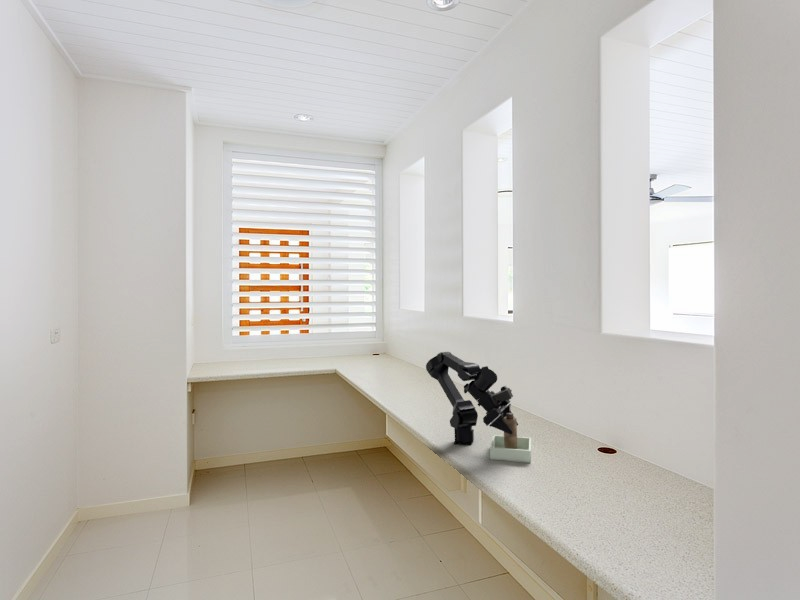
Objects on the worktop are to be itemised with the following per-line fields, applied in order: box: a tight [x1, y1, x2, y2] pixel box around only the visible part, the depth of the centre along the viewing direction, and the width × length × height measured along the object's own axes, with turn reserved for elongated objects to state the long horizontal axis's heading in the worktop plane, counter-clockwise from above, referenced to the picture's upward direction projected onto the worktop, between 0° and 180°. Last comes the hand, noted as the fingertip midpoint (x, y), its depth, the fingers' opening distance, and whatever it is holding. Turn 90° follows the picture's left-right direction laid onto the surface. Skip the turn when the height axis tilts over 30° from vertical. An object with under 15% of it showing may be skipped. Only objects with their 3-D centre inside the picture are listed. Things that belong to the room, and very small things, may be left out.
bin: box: [489, 434, 532, 464], centre depth 158 cm, size 13×13×4 cm
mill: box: [503, 412, 518, 449], centre depth 158 cm, size 4×4×14 cm
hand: (514, 429), depth 157 cm, fingers open, 9 cm apart
